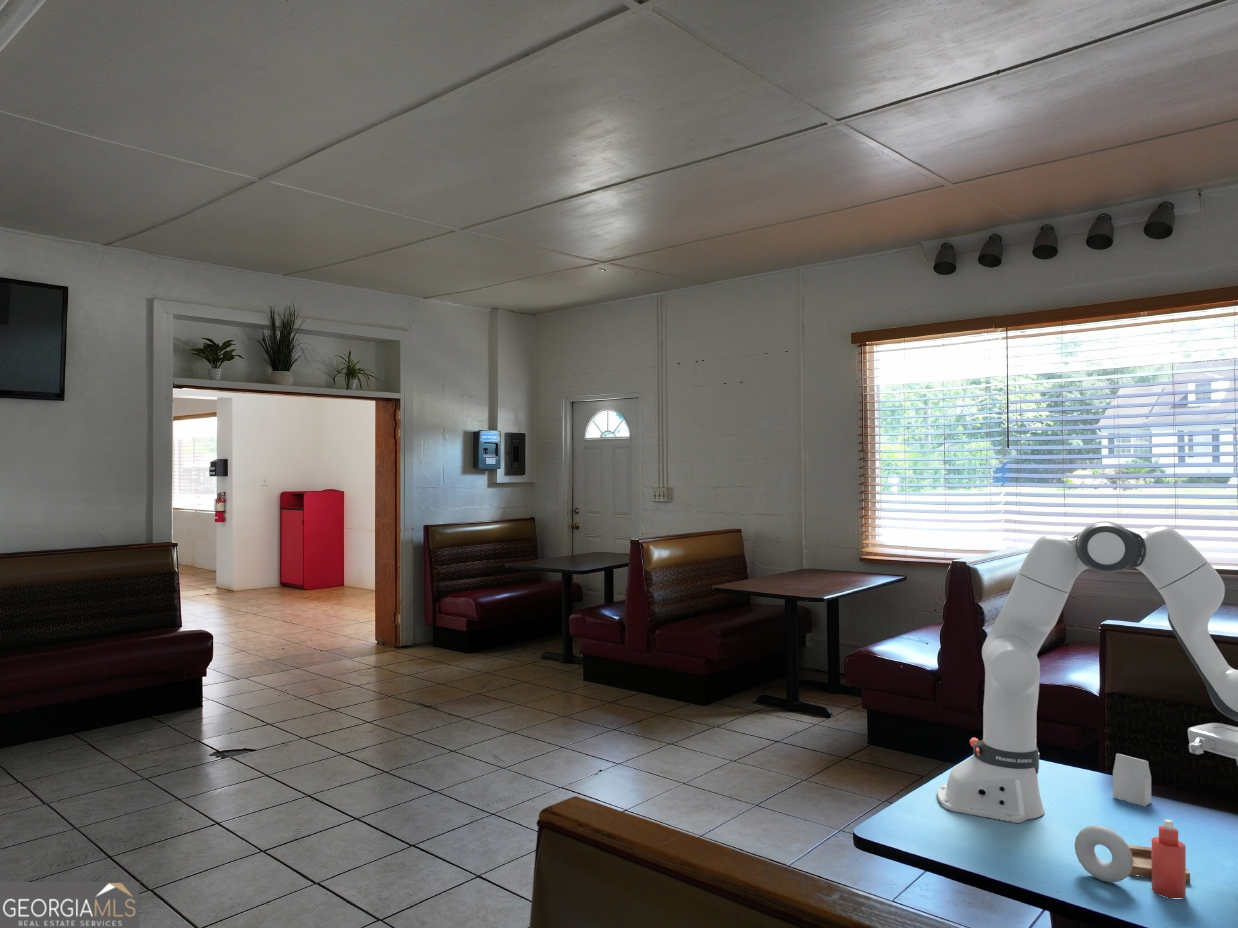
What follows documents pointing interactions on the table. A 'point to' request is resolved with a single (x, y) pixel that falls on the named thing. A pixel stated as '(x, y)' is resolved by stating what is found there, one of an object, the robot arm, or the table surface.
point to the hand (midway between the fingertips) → (1215, 756)
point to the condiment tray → (1144, 862)
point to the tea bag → (1132, 780)
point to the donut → (1115, 844)
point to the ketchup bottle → (1168, 863)
